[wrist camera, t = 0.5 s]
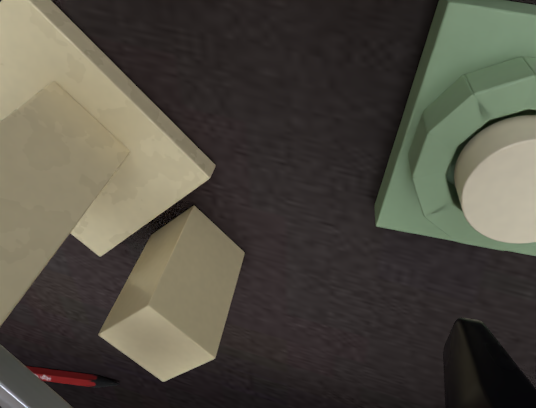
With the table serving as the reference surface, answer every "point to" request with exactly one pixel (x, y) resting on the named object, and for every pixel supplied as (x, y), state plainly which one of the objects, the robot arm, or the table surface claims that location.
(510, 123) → the button
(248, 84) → the table surface
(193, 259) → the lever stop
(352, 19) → the table surface
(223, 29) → the table surface
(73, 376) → the pencil
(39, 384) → the red handled lever
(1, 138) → the lever stand
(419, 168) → the control block
